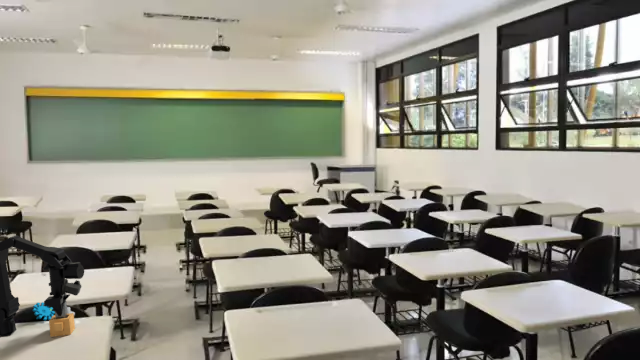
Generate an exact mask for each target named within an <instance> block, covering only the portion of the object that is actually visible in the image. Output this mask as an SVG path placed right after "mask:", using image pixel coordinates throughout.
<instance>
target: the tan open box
mask: <svg viewBox="0 0 640 360" xmlns="http://www.w3.org/2000/svg"><path fill="white" fill-rule="evenodd" d="M67 314H68V317H67V318H61V319H56V318H55V314H53V315H54V316H53V317H52V318H51V319H50V320H48V323H49V324H48V325H49V334H50V335H49V336H50V338H51V337H61V336H70V335H72V333H73V332H74V331H75V329H76V325H75V316H76V312H75V311H72V310H71V307H70V306H67Z"/></svg>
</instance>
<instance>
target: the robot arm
mask: <svg viewBox="0 0 640 360" xmlns="http://www.w3.org/2000/svg"><path fill="white" fill-rule="evenodd" d="M12 248H13V249H14V248H15V249H17V250H19V251H23V252H26V253H28V254H31V255H33V256H36V257H39V259H40V260H41V261H42V262H44V263H46V265H45V266H44V267H43V270H46V271H47V270H48V274H49V283H48V287H50V292H49V296H48V297H47V298H46V299H45V300H44V301H43V303H44V305H43V306H49V307H50V308H51V307H52V308H53V311H54V312H56V313H57V315H58V316H61V315H62V304H63V303H64V302H65V301H66V302H67V299H68V298H69V297H70V296H71V295H73V296H78V295H79V294H80V292H81V289H82V284H81V281H80V280H79V279H83V277H84V275H85V268H84V266H83V264H81V262H80V261H77V262H73V261H72V260H71V259H70V257H69V256H68V255H67V254H66V252H65V250H64V249H63V248H61V247H55V246H46V245H44V244H43V245H42V244H40V243H37V242H34V241H31V240H29V239H26V238H25V237H21V236H20V235H13V236H11V237H10V236H9V237H8V238H6V239H5V240H0V337H8V336H12V335H13V334H14V333H15V332H16V331H17V328H16V327H17V326H16V320H15V319H14V317H16V314H17V312H18V311H19V310H20V306H21V304H20V301H19V299H20V298H19V297H18V296H14V295H13V294H12V288H11V284H10V278H9V271H8V266H7V260H8V256H9V250H10V249H12ZM69 280H75V281H74V282H69Z"/></svg>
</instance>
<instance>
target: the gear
mask: <svg viewBox="0 0 640 360" xmlns="http://www.w3.org/2000/svg"><path fill="white" fill-rule="evenodd" d="M32 312H34V313H33V314H34V316H36V320H41V319H42V318H43V319H42V320H43V321H49V320H50V319H51V318H52V317H53V316H54V315H55V310H54V309H53V308H52V307H51V306H44V301H42V302H41V303H40V302H36V303H35V304H34V305H33V309H32Z"/></svg>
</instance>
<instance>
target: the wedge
mask: <svg viewBox="0 0 640 360" xmlns="http://www.w3.org/2000/svg"><path fill="white" fill-rule="evenodd" d="M67 307H68V304H67V300H66V301H65V302H64V303H63V304H62V315H61V316H58V315H57V313H56V312H55V311H54V312H55V313H54V315H55V318H56V319H61V318H67V317H68V314H67Z"/></svg>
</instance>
